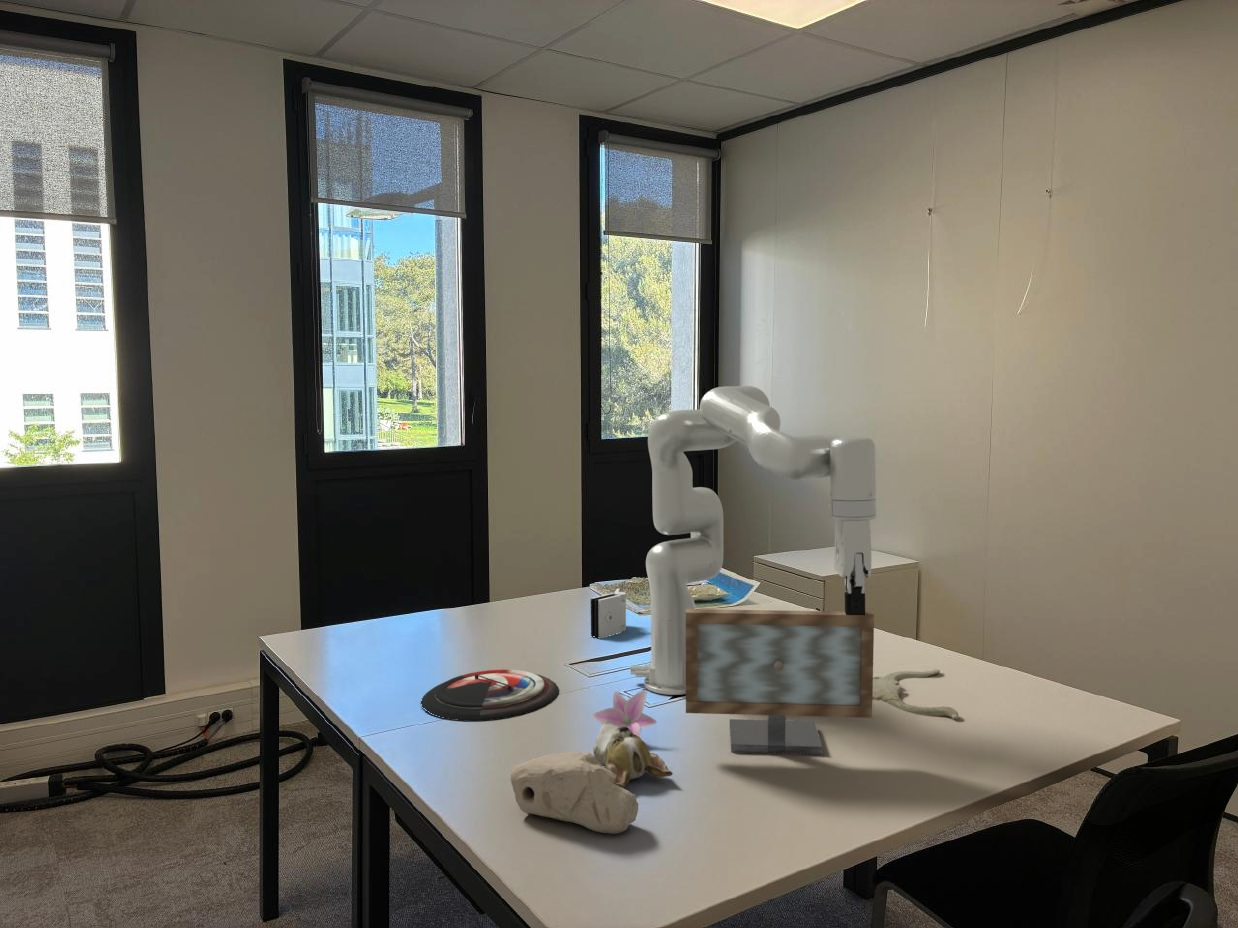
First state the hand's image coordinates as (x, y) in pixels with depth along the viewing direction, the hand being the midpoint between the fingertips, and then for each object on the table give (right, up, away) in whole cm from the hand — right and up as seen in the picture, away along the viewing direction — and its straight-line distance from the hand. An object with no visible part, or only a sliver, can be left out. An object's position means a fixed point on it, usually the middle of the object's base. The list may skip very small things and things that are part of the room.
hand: (855, 615), depth 160 cm
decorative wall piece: (+14, -23, +38) cm, 46 cm away
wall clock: (-67, -23, +36) cm, 80 cm away
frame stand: (-12, -25, +12) cm, 30 cm away
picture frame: (-13, -18, +3) cm, 22 cm away
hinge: (-43, -18, +84) cm, 96 cm away
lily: (-39, -25, +12) cm, 48 cm away
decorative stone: (-47, -28, -18) cm, 58 cm away
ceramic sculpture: (-39, -27, -3) cm, 48 cm away
